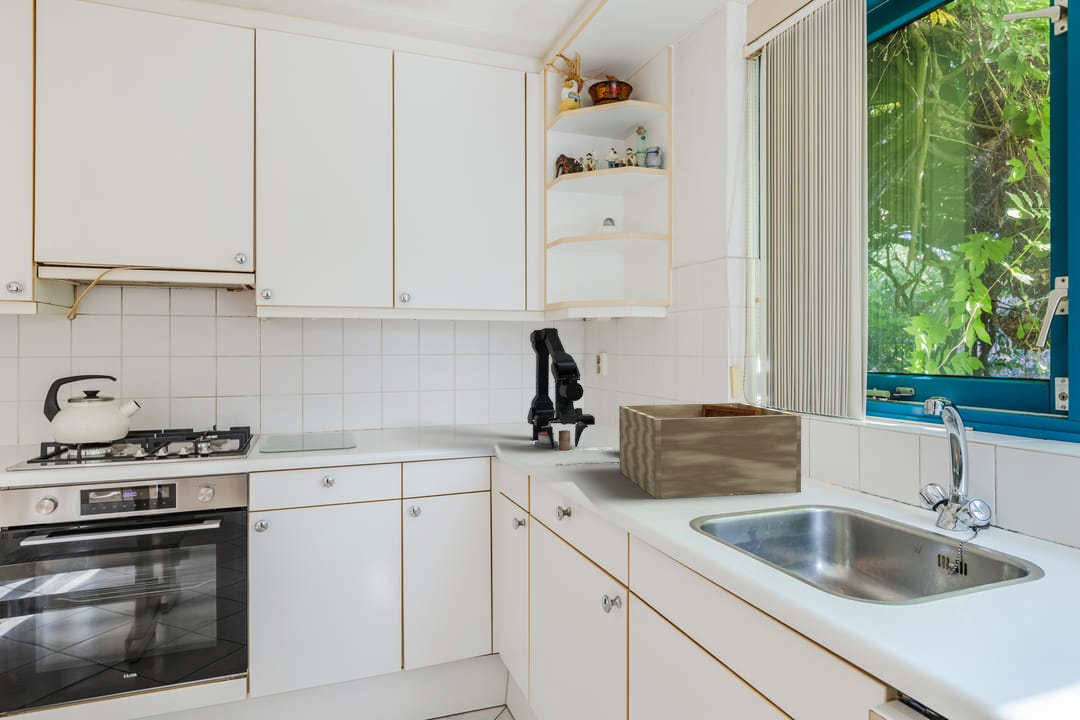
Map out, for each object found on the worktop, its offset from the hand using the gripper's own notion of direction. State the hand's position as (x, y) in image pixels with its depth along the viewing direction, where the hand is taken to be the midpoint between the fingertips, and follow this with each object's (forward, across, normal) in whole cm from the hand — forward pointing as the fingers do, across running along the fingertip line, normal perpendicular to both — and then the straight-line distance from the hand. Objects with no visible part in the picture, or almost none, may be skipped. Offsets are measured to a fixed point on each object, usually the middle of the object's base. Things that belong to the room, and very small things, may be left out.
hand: (564, 447), depth 193 cm
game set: (+3, +28, -42) cm, 51 cm away
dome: (-1, -4, +8) cm, 9 cm away
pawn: (+1, 0, 0) cm, 1 cm away
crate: (+2, +28, -43) cm, 51 cm away
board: (+2, +4, +4) cm, 6 cm away
